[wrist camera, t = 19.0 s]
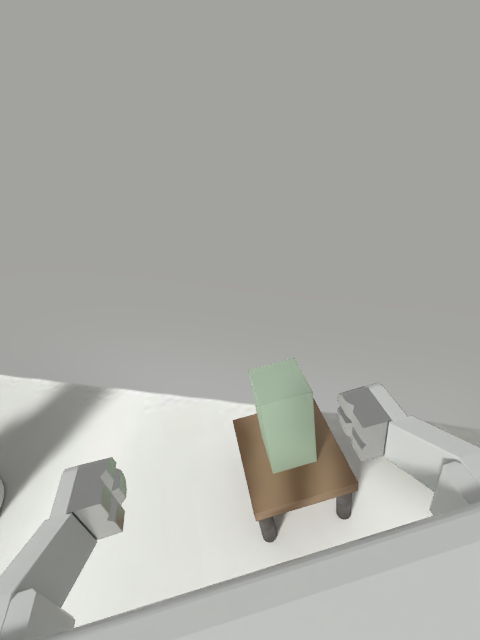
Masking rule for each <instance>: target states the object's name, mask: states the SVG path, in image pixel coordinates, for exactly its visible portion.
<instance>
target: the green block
mask: <svg viewBox="0 0 480 640" xmlns="http://www.w3.org/2000/svg"><path fill="white" fill-rule="evenodd" d="M249 377H250V382H251V387H252V391H253V396H254V401H255V406H256V411H257V416H258V421H259V426H260V430H261V435H262V439H263V442H264V445H265V449H266V452H267V455H268V459H269V462H270V465H271V468H272V472H273V474H274V473H278V472H281V471H285V470H288V469H292V468H295V467H299V466H302V465H305V464H309V463H312V462H316V461H317V457H316V440H315V423H314V406H313V392H312V390H311V388H310V386H309V384H308V382H307V380H306V379H305V377H304V375H303V373H302V371H301V369H300V367H299V366H298V364H297V362H296V360H295V358H293V359H289V360H285V361H281V362H277V363H274V364H270V365H266V366H263V367H259V368H255V369H251V370H249Z"/></svg>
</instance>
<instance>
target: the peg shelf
mask: <svg viewBox="0 0 480 640" xmlns="http://www.w3.org/2000/svg"><path fill="white" fill-rule="evenodd" d="M313 406H314V423H315V440H316V457H317V461H316V462H312V463H309V464H305V465H302V466H299V467H295V468H292V469H288V470H285V471H281V472H278V473H274V474H273V472H272V468H271V465H270V462H269V459H268V455H267V452H266V449H265V445H264V442H263V439H262V435H261V430H260V426H259V421H258V416H257V414H254V415H250V416H247V417H243V418H239V419H236V420H233V424H234V428H235V432H236V437H237V441H238V446H239V450H240V454H241V459H242V463H243V467H244V472H245V476H246V481H247V485H248V489H249V494H250V498H251V502H252V507H253V511H254V515H255V519H256V521H259V524H260V528H261V531H262V535H263V538H264V540H265V541H266V542H273V541H274V540H275V539H276V536H277V533H276V529H275V524H274V520H273V516H276V515H279V514H282V513H285V512H289V511H292V510H295V509H299V508H302V507H305V506H309V505H312V504H315V503H319V502H322V501H325V500H329V499H332V498H335V497H336V512H337V515H338V516H339V517H340V518H341V519H348V518H349V517H350V515H351V498H352V492H355V491H358V482H357V480H356V478H355V476H354V474H353V472H352V471H351V469H350V467H349V465H348V463H347V461H346V459H345V457H344V455H343V453H342V452H341V450H340V448H339V446H338V444H337V442H336V440H335V438H334V436H333V434H332V433H331V431H330V429H329V427H328V425H327V423H326V421H325V419H324V417H323V416H322V414H321V412H320V410H319V408H318V406H317V404H316V402H315V400H314V398H313Z"/></svg>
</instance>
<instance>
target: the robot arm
mask: <svg viewBox="0 0 480 640" xmlns="http://www.w3.org/2000/svg"><path fill="white" fill-rule="evenodd" d="M338 402H339V404H340V407H339V408H338V418H339V422H340V425H341V427H342V429H343V431H344V433H345V435H347V436H349V437H350V438H352V447H353V449H354V450H355V452H356V454H357V456H358V457H359V459H360V461H361V462H362V461H365V460H369V459H373V458H377V457H380V456H384V457H385V458H387V459H388V460H390V461H391V462H392V463H394V464H395V465H397V466H398V467H400V468H401V469H403V470H404V471H405V472H407V473H408V474H410V475H411V476H413V477H414V478H415V479H417V480H418V481H420V482H421V483H423V484H424V485H425V486H427V487H428V488H430V489H431V490H433V491H434V492H435V493H434V496H433V500H432V503H431V506H430V511H431V513H432V514H433V516H431V517H428V518H425V519H422V520H418V521H415V522H412V523H409V524H406V525H402V526H399V527H396V528H393V529H390V530H386V531H383V532H380V533H377V534H374V535H370V536H367V537H364V538H361V539H358V540H354V541H351V542H348V543H345V544H341V545H338V546H335V547H332V548H329V549H325V550H322V551H319V552H316V553H313V554H309V555H306V556H303V557H300V558H297V559H293V560H290V561H287V562H284V563H281V564H277V565H274V566H271V567H268V568H265V569H261V570H258V571H255V572H252V573H249V574H245V575H242V576H239V577H236V578H232V579H229V580H226V581H223V582H220V583H216V584H213V585H210V586H207V587H204V588H200V589H197V590H194V591H191V592H188V593H184V594H181V595H178V596H175V597H172V598H168V599H165V600H162V601H159V602H156V603H152V604H149V605H146V606H143V607H140V608H136V609H133V610H130V611H127V612H124V613H120V614H117V615H114V616H111V617H108V618H104V619H101V620H98V621H95V622H92V623H88V624H85V625H82V626H79V627H76V628H74V624H75V619H74V618H73V616H71V615H70V614H69V613H67V612H66V611H64V610H63V609H61V607H62V605H63V603H64V601H65V600H66V598H67V596H68V594H69V592H70V590H71V589H72V587H73V585H74V583H75V581H76V579H77V578H78V576H79V574H80V572H81V570H82V569H83V567H84V565H85V563H86V561H87V559H88V558H89V556H90V554H91V552H92V550H93V549H94V547H95V545H96V543H97V541H96V540H99V539H102V538H105V537H108V536H111V535H114V534H117V533H120V532H123V523H124V513H125V511H124V509H123V508H122V507H121V505H122V503H123V502H124V500H125V498H126V490H127V489H126V480H125V477H124V474H123V473H122V471H121V470H119V469H116V462H115V460H114V459H113V458H112V457H111V458H107V459H103V460H99V461H95V462H91V463H87V464H83V465H79V466H75V467H71V468H68V469H65V471H64V472H63V474H62V476H61V480H60V483H59V487H58V490H57V494H56V497H55V501H54V504H53V508H52V512H51V515H50V519H49V520H45V521H44V522H43V523H42V525H41V526H40V527H39V528H38V530H37V531H36V532H35V534H34V535H33V536H32V537H31V539H30V540H29V541H28V542H27V544H26V545H25V546H24V547H23V549H22V550H21V551H20V552H19V554H18V555H17V556H16V557H15V559H14V560H13V561H12V562H11V564H10V565H9V566H8V567H7V569H6V570H5V571H4V572H3V574H2V575H1V576H0V640H480V447H477V446H475V445H473V444H471V443H469V442H467V441H465V440H463V439H461V438H458V437H456V436H454V435H452V434H450V433H448V432H446V431H444V430H442V429H439V428H437V427H435V426H433V425H431V424H429V423H427V422H425V421H422V420H420V419H418V418H416V417H414V416H407V415H406V414H405V412H404V411H403V410H402V409H401V408H400V406H399V405H398V404H397V403H396V401H395V400H394V399H393V398H392V397H391V395H390V394H389V393H388V392H387V391H386V389H385V388H384V387H383V386H382V384H380V383H376V384H372V385H368V386H365V387H360V388H357V389H353V390H350V391H347V392H343V393H340V394H339V395H338ZM3 498H4V485H3V483H2V481H1V479H0V508H1V505H2V502H3Z"/></svg>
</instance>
